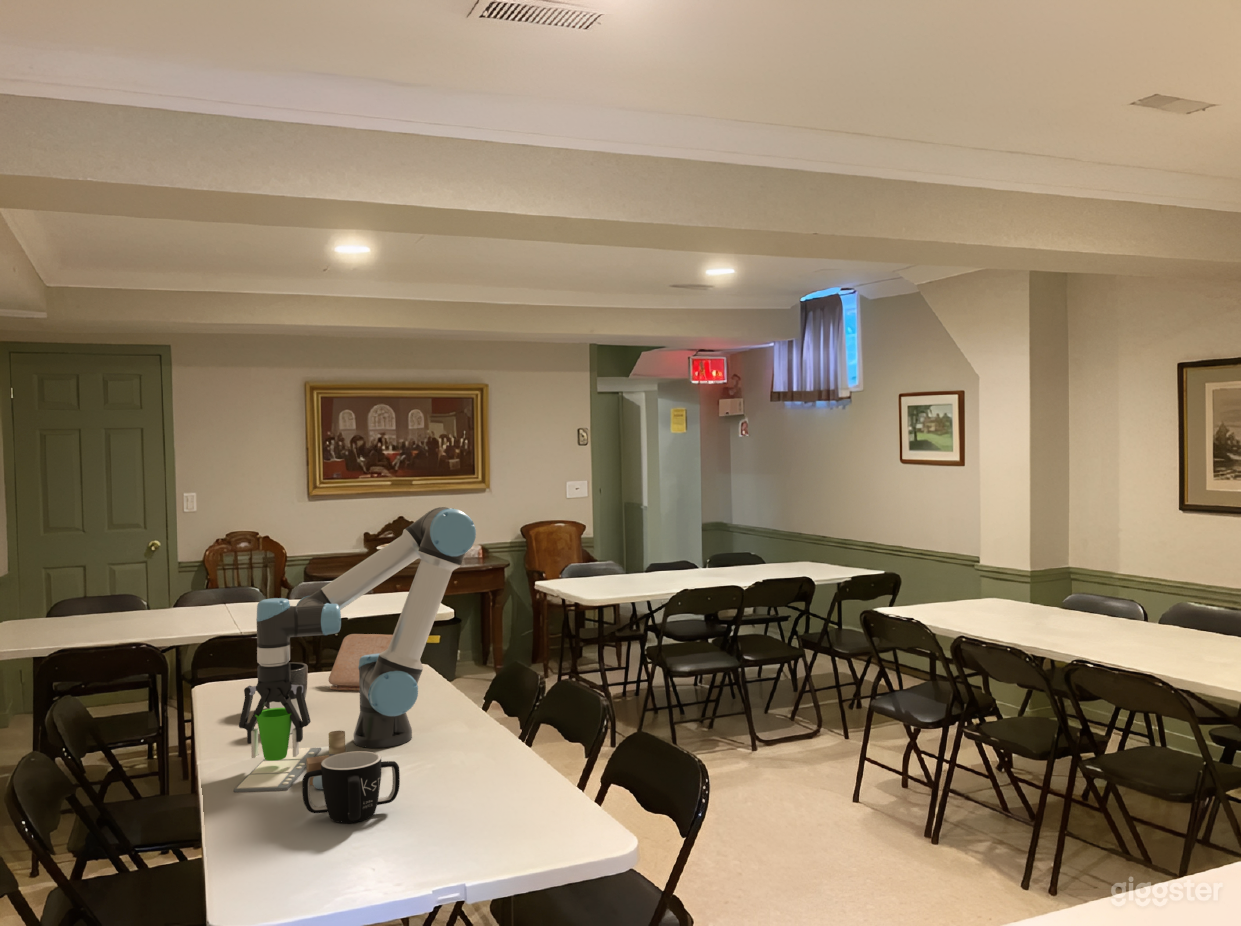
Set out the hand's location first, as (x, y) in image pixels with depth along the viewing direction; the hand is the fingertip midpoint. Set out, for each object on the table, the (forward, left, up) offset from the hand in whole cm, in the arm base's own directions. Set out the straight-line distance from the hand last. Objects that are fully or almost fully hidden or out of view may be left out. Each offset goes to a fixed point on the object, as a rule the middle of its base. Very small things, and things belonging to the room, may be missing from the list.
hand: (275, 755), depth 234 cm
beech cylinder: (-13, -9, -3) cm, 16 cm away
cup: (0, 0, -1) cm, 1 cm away
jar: (+7, -34, -4) cm, 35 cm away
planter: (+14, -57, -4) cm, 59 cm away
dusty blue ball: (-15, +15, -3) cm, 21 cm away
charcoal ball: (-14, +1, -3) cm, 14 cm away
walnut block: (-13, +9, -4) cm, 16 cm away
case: (-5, -88, -4) cm, 88 cm away
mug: (-26, +33, -4) cm, 42 cm away
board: (-1, 0, -3) cm, 4 cm away
